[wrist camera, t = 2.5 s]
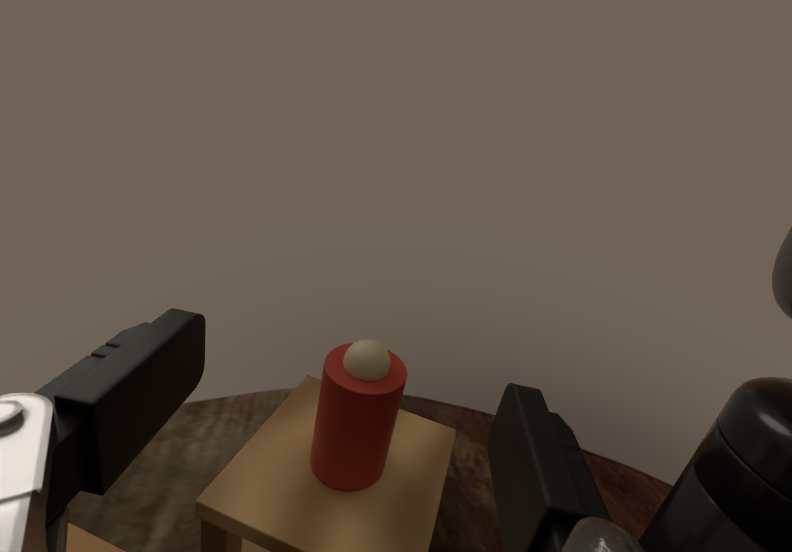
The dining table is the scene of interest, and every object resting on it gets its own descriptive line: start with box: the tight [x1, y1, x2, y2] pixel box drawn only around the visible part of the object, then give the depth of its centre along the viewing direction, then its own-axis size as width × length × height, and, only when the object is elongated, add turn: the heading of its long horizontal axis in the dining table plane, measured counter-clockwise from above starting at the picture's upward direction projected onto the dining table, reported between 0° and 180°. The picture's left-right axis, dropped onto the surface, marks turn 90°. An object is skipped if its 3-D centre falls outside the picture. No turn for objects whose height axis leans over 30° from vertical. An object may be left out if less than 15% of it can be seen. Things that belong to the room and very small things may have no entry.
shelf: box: [195, 375, 456, 552], centre depth 27 cm, size 12×12×10 cm
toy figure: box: [310, 339, 407, 492], centre depth 24 cm, size 5×5×8 cm
